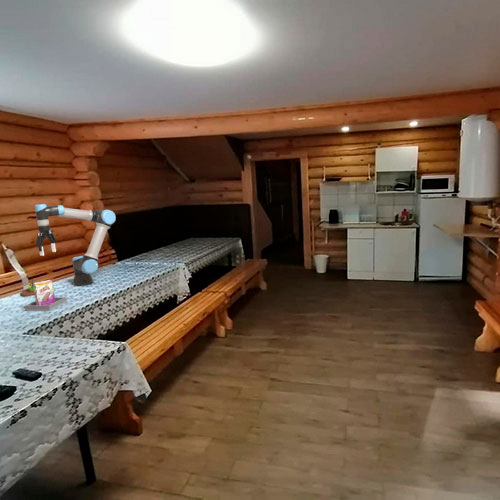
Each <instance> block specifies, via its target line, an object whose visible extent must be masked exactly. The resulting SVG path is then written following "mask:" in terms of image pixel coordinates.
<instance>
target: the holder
mask: <svg viewBox="0 0 500 500" xmlns="http://www.w3.org/2000/svg"><path fill="white" fill-rule="evenodd" d="M67 302H68V301H67V297H66V296H64V297H62V296H60V297H58V296H57V297H56V296H55V302H54V303H52V304H50V305H36V300H35V301H33V302H30V303H28V304H26V305H24V310H25V312H45V311H46V312H50V311H52V310H55V309H56V308H58V307H60V306H62V305H64V304H66V303H67Z"/></svg>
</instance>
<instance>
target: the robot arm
mask: <svg viewBox="0 0 500 500" xmlns="http://www.w3.org/2000/svg"><path fill="white" fill-rule="evenodd" d="M34 210H35V217H36V223H37V229H38V232H37V233H36V241H35V247H36V248H38V251H39V256H43V257H44V256H45V251H44V247H43V244H44V241H45V239H48V240H49V242H51V243H50V246H51V252H52V253H56V252H57V249H56V244H57V239H56V237H55V235H54V233H53V230H51V227H50V221H49V220H50V219H49V217H59V218H60V217H62V218H69V219H70V218H71V219H79V220H85V221H89V222H91V223H95V224H96V227H95V230H94V232H93V235H92V238H91V240H90V244H89V245H88V247H87V251H86V253H85V254H83V255H80V256H79V255H78V256H75V257H73V258H71V259H72V260H71V261H72V262H71V263H72V267H73V275H74V277H73V282H72V283H73V284H72V285H74V286H76V287H77V286H78V287H79V286H86V285H90V284H93V283H94V280H93V279H94V278H93V277H92V274H94V273H95V272H97V271H98V268H99V263H98V262H99V258H98V257H99V254H100V250H101V249H102V245H103V242H104V240H105V238H106V235H107V232H108V230H109V229H111V226H112V225H114V223H115V222H116V218H117V217H116V214H115V212H114V211H113V210H110V209H89V210H86V209H78V208H71V207H70V208H69V207H65V206H64V205H61V204H60V205H58V204H57V205H47V204H46V203H42V204H41V203H40V204H35V205H34Z"/></svg>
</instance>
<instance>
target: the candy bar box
mask: <svg viewBox="0 0 500 500" xmlns="http://www.w3.org/2000/svg"><path fill="white" fill-rule="evenodd" d="M33 287H34V293H35V295H34V299H35V301H36V305H50V304H52V303H54V302H55V297H56V296H55V291H54V283H53V280H52V279H48V280H42V281H40V282H39V281H37V283H36V282H34V283H33Z"/></svg>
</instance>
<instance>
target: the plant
mask: <svg viewBox="0 0 500 500" xmlns="http://www.w3.org/2000/svg"><path fill="white" fill-rule="evenodd" d="M34 280H35V279H34V278H32V279H31V283H30V285H27V288H25V289H23V290H22V291H21V292H20V293H19V296H20V297H23V298H27V297H33V296H34V297H35V293H34V287H33V283H37V282H41V281H37V282H34Z"/></svg>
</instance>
